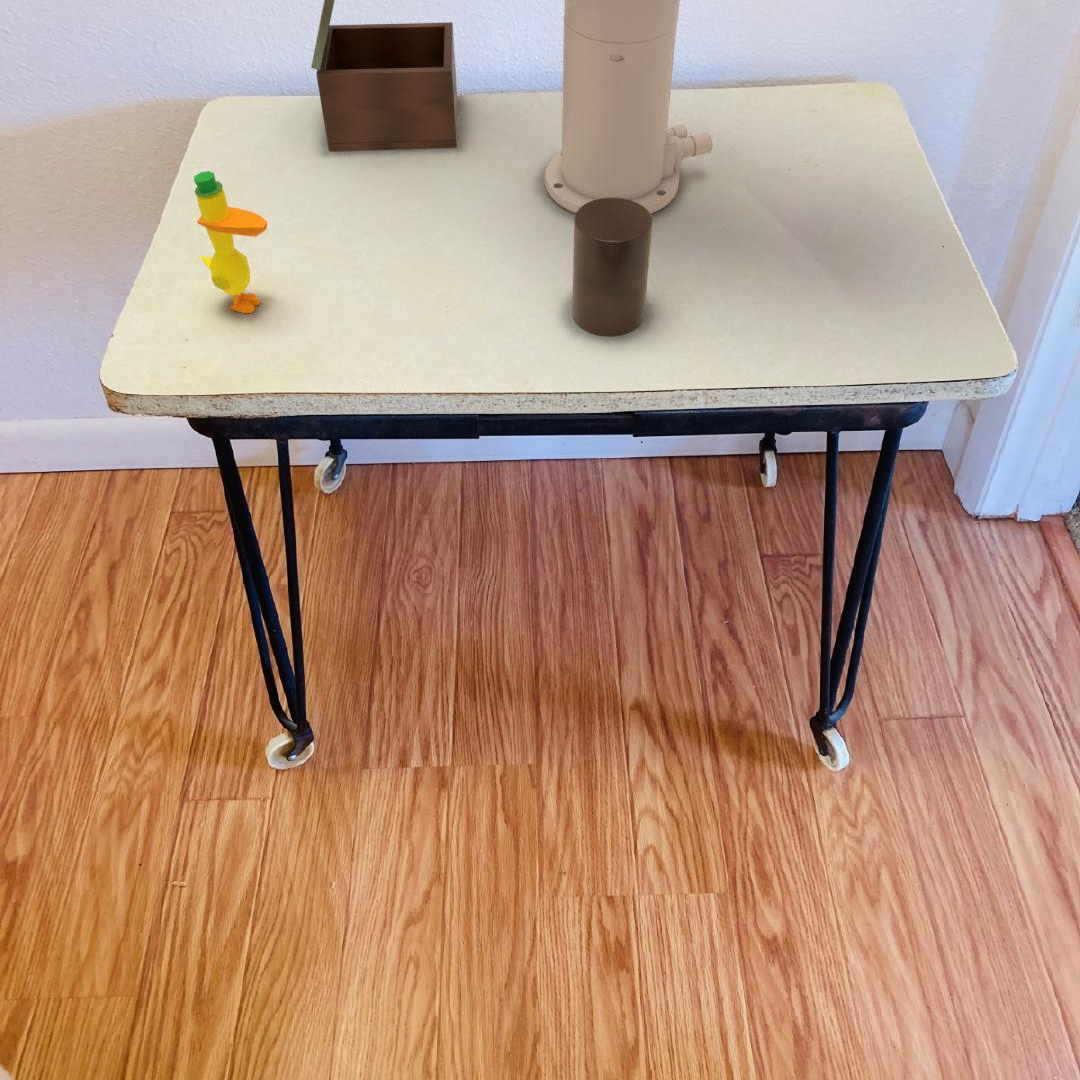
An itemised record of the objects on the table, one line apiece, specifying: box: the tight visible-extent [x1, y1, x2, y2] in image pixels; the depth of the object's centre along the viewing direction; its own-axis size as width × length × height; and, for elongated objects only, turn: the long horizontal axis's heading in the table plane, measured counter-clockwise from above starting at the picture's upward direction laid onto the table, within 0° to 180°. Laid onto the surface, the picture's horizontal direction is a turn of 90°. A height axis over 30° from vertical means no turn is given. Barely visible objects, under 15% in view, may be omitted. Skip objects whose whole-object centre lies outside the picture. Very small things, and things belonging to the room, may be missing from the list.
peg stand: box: [571, 198, 653, 337], centre depth 87 cm, size 6×6×9 cm
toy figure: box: [193, 170, 268, 314], centre depth 86 cm, size 7×4×12 cm, turn 75°
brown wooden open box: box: [316, 22, 458, 152], centre depth 107 cm, size 13×10×8 cm
